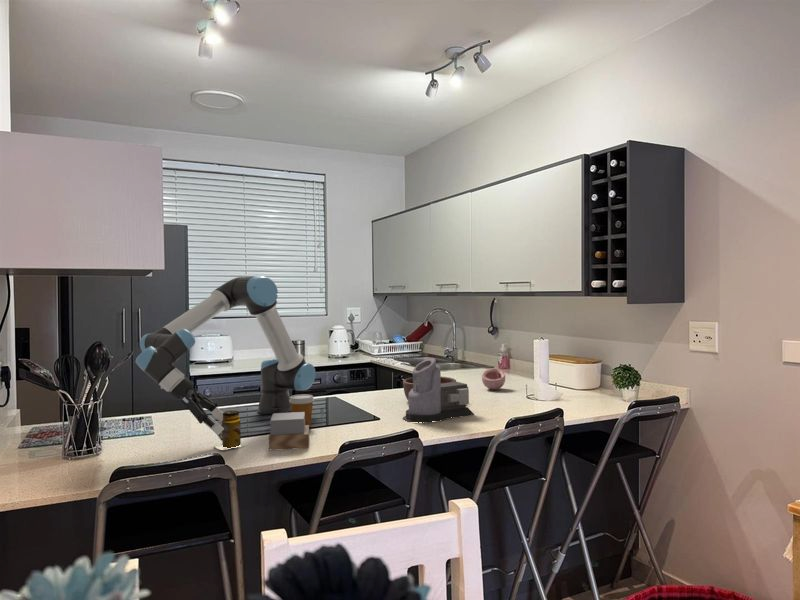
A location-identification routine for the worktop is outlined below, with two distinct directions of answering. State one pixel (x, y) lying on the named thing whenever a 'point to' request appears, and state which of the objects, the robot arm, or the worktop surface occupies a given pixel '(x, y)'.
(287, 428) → the grey square block
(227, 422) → the condiment
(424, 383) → the juicer
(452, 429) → the worktop surface
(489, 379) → the mortar and pestle
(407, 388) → the wooden bowl
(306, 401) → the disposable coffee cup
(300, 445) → the walnut base block
